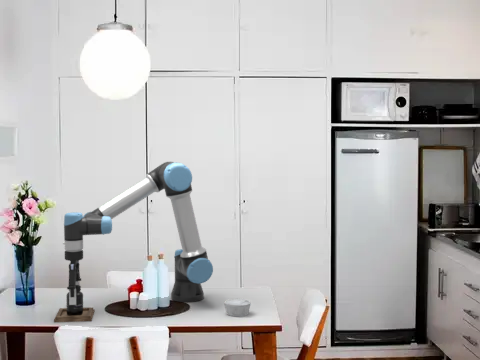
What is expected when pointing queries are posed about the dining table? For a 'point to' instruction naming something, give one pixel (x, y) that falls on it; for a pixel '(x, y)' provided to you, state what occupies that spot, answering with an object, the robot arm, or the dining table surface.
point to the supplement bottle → (78, 308)
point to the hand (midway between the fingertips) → (74, 300)
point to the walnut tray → (64, 317)
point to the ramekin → (237, 307)
